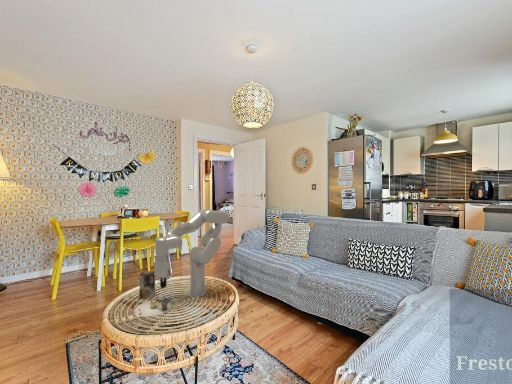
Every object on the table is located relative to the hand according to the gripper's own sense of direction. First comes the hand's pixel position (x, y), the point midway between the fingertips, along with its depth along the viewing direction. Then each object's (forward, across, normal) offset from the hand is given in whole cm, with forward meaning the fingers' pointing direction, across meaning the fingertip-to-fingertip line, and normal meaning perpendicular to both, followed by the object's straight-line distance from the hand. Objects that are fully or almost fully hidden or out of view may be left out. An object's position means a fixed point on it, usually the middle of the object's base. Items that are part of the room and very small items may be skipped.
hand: (163, 287), depth 151 cm
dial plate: (+10, +1, -8) cm, 13 cm away
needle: (+9, +5, -7) cm, 12 cm away
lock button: (+9, 0, -1) cm, 9 cm away
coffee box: (+11, -16, 0) cm, 19 cm away
